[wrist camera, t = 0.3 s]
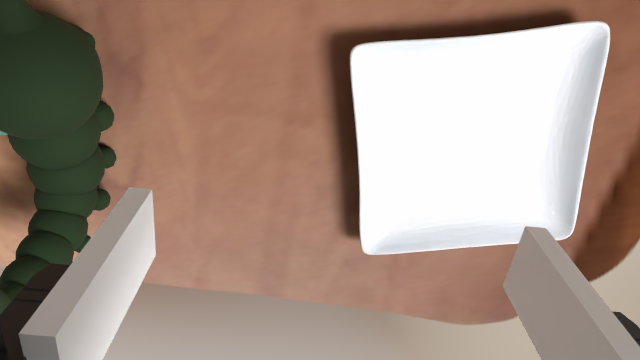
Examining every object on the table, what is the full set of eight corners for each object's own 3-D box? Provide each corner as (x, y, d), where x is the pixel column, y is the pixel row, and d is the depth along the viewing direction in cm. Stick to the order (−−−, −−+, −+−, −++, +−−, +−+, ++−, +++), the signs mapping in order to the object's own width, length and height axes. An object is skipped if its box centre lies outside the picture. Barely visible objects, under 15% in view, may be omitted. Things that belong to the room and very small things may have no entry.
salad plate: (560, 223, 49) (575, 242, 46) (358, 239, 50) (361, 259, 47) (594, 12, 40) (617, 18, 37) (344, 37, 41) (347, 45, 38)
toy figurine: (142, 213, 50) (119, -41, 37) (56, 368, 34) (-38, 17, 21) (51, 204, 49) (-5, -58, 36) (-79, 357, 33) (-265, -13, 20)
